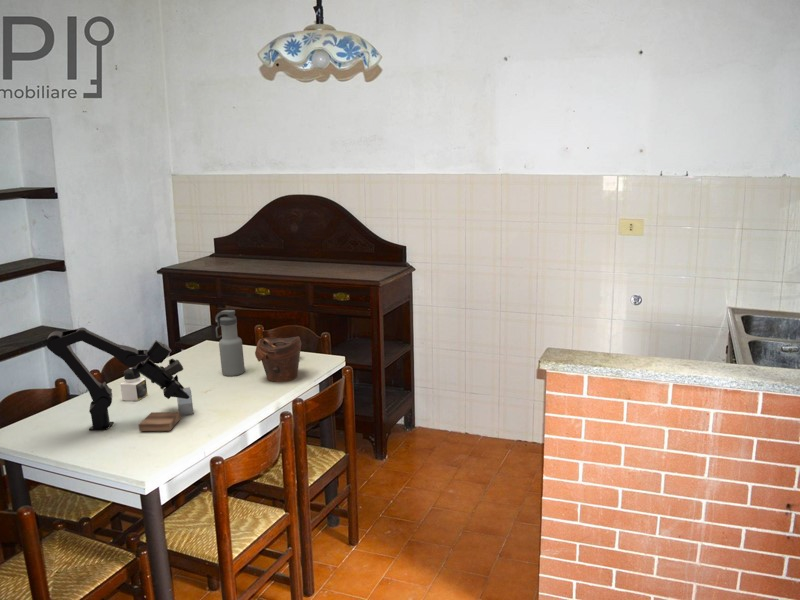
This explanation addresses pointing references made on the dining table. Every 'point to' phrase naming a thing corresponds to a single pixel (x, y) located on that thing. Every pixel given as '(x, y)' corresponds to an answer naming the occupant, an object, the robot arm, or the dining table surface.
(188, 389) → the block
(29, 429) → the dining table surface
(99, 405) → the robot arm
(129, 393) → the medicine bottle
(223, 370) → the water bottle
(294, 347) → the case
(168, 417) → the walnut stand
